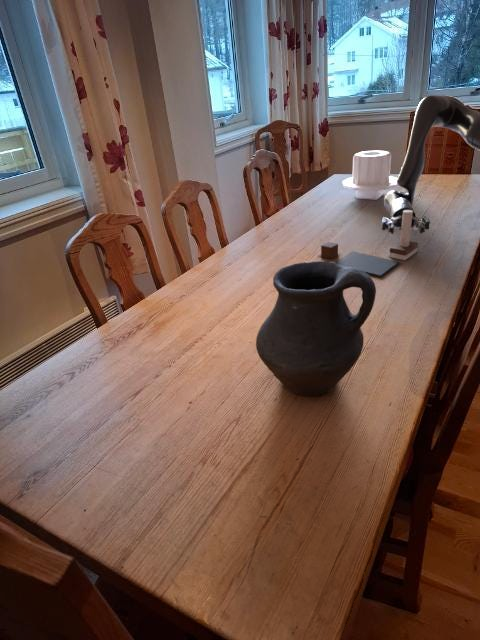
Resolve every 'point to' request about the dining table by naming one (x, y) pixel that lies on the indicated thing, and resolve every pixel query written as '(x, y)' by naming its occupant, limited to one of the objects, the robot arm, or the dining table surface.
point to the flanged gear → (371, 174)
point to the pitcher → (314, 326)
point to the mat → (368, 263)
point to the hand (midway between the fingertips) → (407, 230)
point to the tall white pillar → (404, 239)
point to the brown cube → (329, 250)
